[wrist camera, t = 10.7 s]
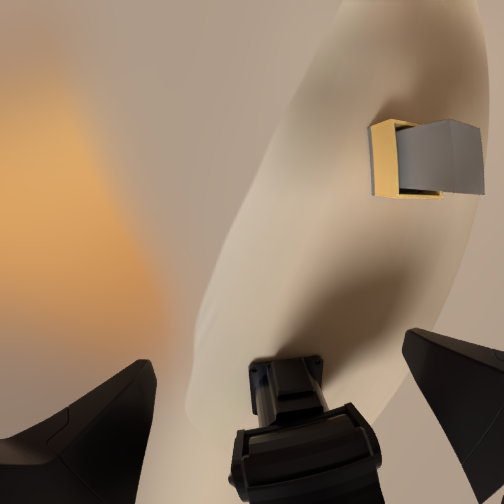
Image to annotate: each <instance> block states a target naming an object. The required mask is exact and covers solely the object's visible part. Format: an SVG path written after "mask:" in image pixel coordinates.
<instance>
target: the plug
mask: <svg viewBox="0 0 504 504" xmlns="http://www.w3.org/2000/svg"><path fill="white" fill-rule="evenodd" d="M395 136H396V146H397V160H398V179H399V188H406V189H419V190H432V191H442V192H452V193H465V194H479V195H484V165H483V152H482V142H481V134H480V128H477V127H474V126H471V125H468V124H465V123H462V122H458V121H455V120H452V119H446V120H441V121H437V122H433V123H428V124H424V125H420V126H416V127H412V128H408V129H405V130H401V131H397V132H395Z"/></svg>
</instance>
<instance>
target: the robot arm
mask: <svg viewBox="0 0 504 504" xmlns="http://www.w3.org/2000/svg"><path fill="white" fill-rule="evenodd" d="M402 354H403V356H404V358H405V360H406V362H407V364H408V366H409V369H410V371H411V373H412V375H413V377H414V379H415V381H416V383H417V385H418V387H419V388H420V390H421V392H422V394H423V395H424V397H425V399H426V400H427V402H428V404H429V406H430V407H431V409H432V411H433V412H434V414H435V416H436V418H437V419H438V421H439V423H440V425H441V427H442V428H443V430H444V432H445V434H446V436H447V438H448V440H449V441H450V443H451V445H452V447H453V449H454V451H455V453H456V455H457V457H458V459H459V461H460V463H461V464H462V468H463V470H464V472H465V474H466V476H467V478H468V480H469V482H470V485H471V487H472V489H473V491H474V494H475V496H476V498H477V501H478V503H479V504H482V503H483V502H485V501H486V500H487V499H488V498H489V497H491V496H492V495H493V494H494V493H495V492H497V491H498V490H499V489H500V488H501V487H502V486H503V485H504V351H499V350H496V349H491V348H488V347H484V346H480V345H477V344H473V343H469V342H466V341H462V340H458V339H454V338H451V337H448V336H443V335H440V334H437V333H433V332H430V331H426V330H423V329H419V328H413V329H409V330H407V331H406V333H405V338H404V342H403V346H402ZM317 360H319V361H318V362H316V361H317ZM253 368H256V370H253ZM248 369H249V380H250V390H251V401H252V411H253V414H254V415H258V421H259V428H256V429H250V430H245V429H243V430H237V436H236V438H235V442H234V449H233V456H232V464H231V472H230V474H229V477H228V480H229V483H230V484H231V485H232V486H234V487H235V488H236V490H237V492H238V495H239V497H240V498H241V500H242V501H243V502H249V503H250V504H385V501H384V498H383V495H382V491H381V488H380V483H379V478H378V473H377V469H378V468H380V466H381V464H382V455H381V450H380V445H379V442H378V439H377V437H376V435H375V433H374V431H373V429H372V428H371V426H370V425H369V424H368V422H367V421H366V420H365V419H364V418H363V416H362V415H361V414H360V413H359V411H358V410H357V409H356V408H355V406H354V405H353V404H352V403H351V402H350V403H347V404H344V406H342V407H339V408H335V409H332V410H329V408H328V405H327V403H326V401H325V398H324V396H323V393H322V391H321V380H322V371H323V359H322V357H321V356H319V355H317V356H310V357H304V358H295V359H287V360H279V361H271V362H261V363H253V364H250V365H249V368H248ZM156 387H157V379H156V376H155V373H154V369H153V366H152V363H151V361H150V360H146V359H139V360H136V361H135V362H134V363H132V364H131V365H129V366H128V367H126V368H125V369H123V370H122V371H120V372H119V373H117V374H116V375H114V376H113V377H111V378H110V379H108V380H107V381H106V382H104V383H102V384H101V385H99V386H98V387H96V388H95V389H93V390H92V391H90V392H89V393H87V394H86V395H84V396H83V397H81V398H80V399H78V400H77V401H75V402H74V403H72V404H70V405H69V406H68V407H66V408H64V409H63V410H61V411H59V412H58V413H56V414H54V415H53V416H51V417H50V418H48V419H46V420H44V421H42V422H40V423H38V424H36V425H34V426H32V427H30V428H28V429H26V430H24V431H22V432H20V433H18V434H16V435H14V436H12V437H9V438H5V439H0V504H135V501H136V495H137V490H138V485H139V480H140V475H141V470H142V465H143V460H144V456H145V451H146V447H147V442H148V438H149V434H150V429H151V425H152V420H153V412H154V404H155V394H156ZM501 504H504V495H503V498H502V502H501Z"/></svg>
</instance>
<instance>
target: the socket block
mask: <svg viewBox="0 0 504 504" xmlns="http://www.w3.org/2000/svg"><path fill="white" fill-rule="evenodd" d="M420 125H422V124H417V123H412V122H407V121H401V120H395V119H389V120H386V121H383V122H380V123H378V124H375V125H373V126H370V127H368V136H369V147H370V161H371V181H372V196H382V197H390V198H416V199H443V192H442V191H432V190H419V189H406V188H399V179H398V160H397V146H396V136H395V132H397V131H401V130H405V129H408V128H412V127H416V126H420Z"/></svg>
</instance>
